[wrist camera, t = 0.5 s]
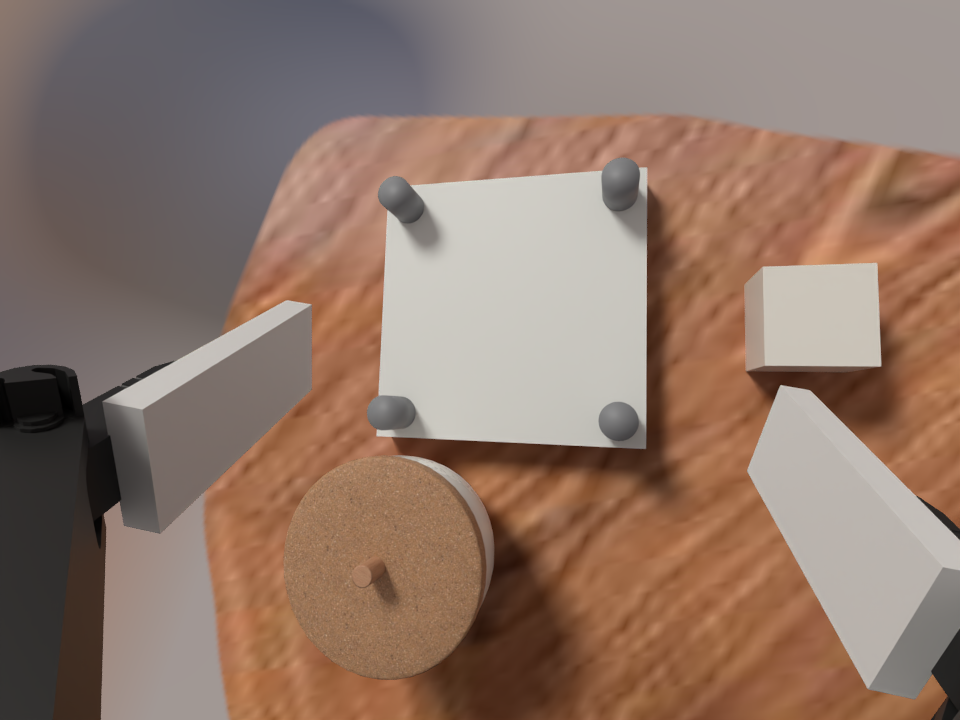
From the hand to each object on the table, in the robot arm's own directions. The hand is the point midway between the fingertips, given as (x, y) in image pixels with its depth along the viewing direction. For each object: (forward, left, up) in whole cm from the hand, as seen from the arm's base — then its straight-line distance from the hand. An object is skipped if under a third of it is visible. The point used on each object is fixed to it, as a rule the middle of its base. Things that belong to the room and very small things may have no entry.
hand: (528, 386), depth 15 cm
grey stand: (+5, +4, -18) cm, 19 cm away
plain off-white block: (+4, -12, -18) cm, 22 cm away
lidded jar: (-9, +9, -18) cm, 22 cm away
